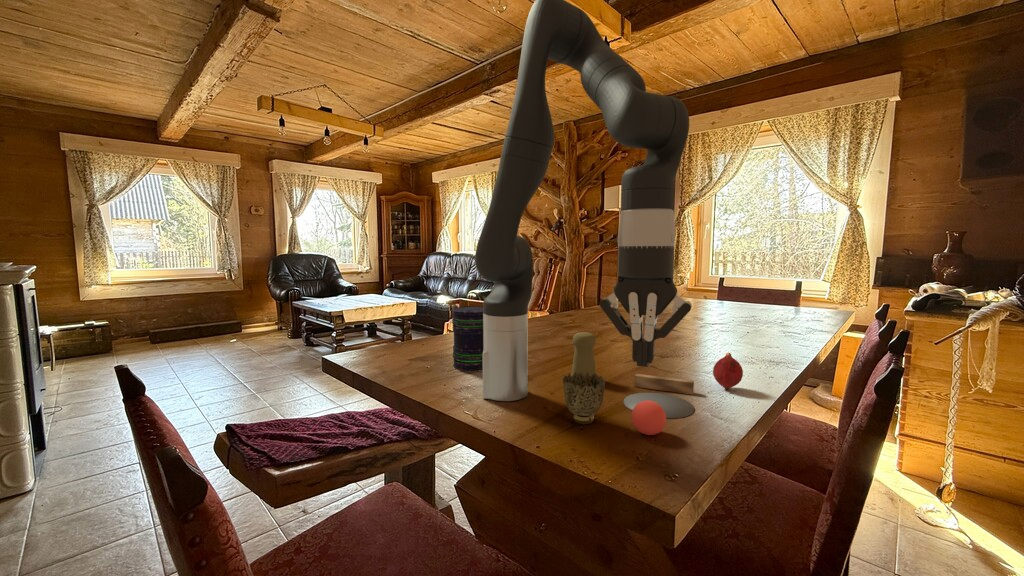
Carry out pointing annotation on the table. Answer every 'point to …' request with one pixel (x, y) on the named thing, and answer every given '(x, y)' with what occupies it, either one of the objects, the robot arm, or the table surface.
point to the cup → (583, 395)
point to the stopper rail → (664, 383)
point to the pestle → (583, 353)
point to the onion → (727, 371)
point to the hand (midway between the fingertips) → (642, 365)
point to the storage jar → (468, 338)
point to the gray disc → (662, 403)
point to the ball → (648, 417)
